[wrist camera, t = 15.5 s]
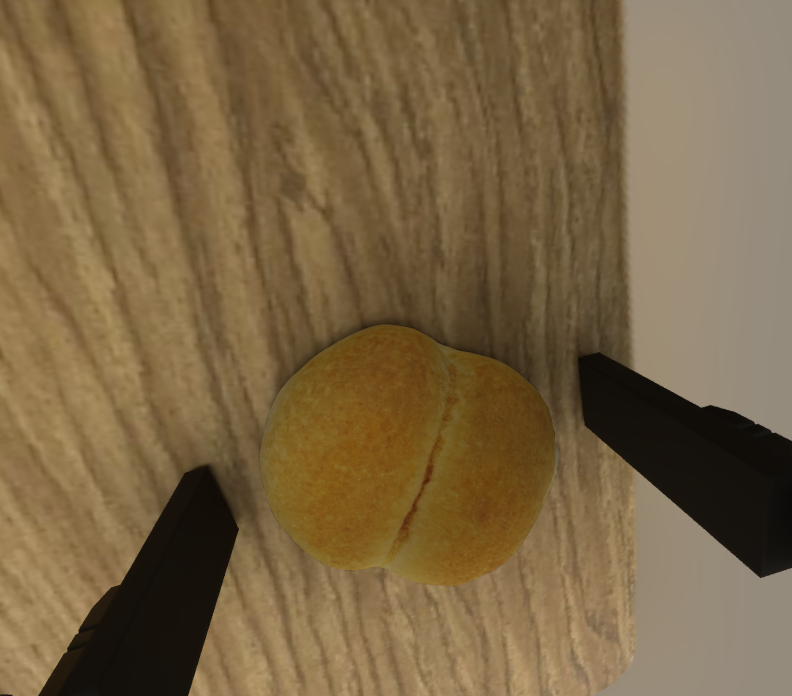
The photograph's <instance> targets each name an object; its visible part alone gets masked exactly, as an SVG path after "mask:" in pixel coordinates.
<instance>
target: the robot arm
mask: <svg viewBox="0 0 792 696" xmlns="http://www.w3.org/2000/svg"><path fill="white" fill-rule="evenodd" d="M578 359H579V369H580V380H581V390H582V401H583V412H584V422H585V426H586V427H587V428H588V429H590V430H591V431H592V432H593V433H594V434H595V435H596V436H598V437H599V438H600V439H601V440H602V441H603V442H605V443H606V444H607V445H608V446H609V447H610V448H611V449H613V450H614V451H615V452H616V453H617V454H618V455H620V456H621V457H622V458H623V459H624V460H625V461H626V462H628V463H629V464H630V465H631V466H632V467H633V468H634V469H636V470H637V471H638V472H639V473H640V474H641V475H643V476H644V477H645V478H646V479H647V480H648V481H649V482H651V483H652V484H653V485H654V486H655V487H656V488H658V489H659V490H660V491H661V492H662V493H663V494H664V495H666V496H667V497H668V498H669V499H671V501H672V502H674V503H675V504H676V505H677V506H678V507H679V508H681V509H682V510H683V511H684V512H685V513H687V514H688V515H689V516H690V517H691V518H692V519H693V520H694V521H695V522H697V523H698V524H699V525H700V526H701V527H702V528H704V529H705V530H706V531H707V532H708V533H709V534H710V535H712V536H713V537H714V538H715V539H716V540H717V541H718V542H720V543H721V544H722V545H723V546H724V547H725V548H727V549H728V550H729V551H730V552H731V553H732V554H734V555H735V556H736V557H737V558H738V559H739V560H740V561H742V562H743V563H744V564H745V565H746V566H747V567H749V568H750V569H751V570H752V571H753V572H754V573H755V574H757V575H758V576H759V577H760V578H762V577H765V576H768V575H771V574H774V573H777V572H781V571H783V570H787V569H790V568H792V441H791V440H789V439H787V438H784V437H783V436H781V435H779V434H777V433H772V432H771V430H769V429H767V428H765V427H763V426H761V425H759V424H755V423H754V422H753V421H751V420H749V419H747V418H746V417H744V416H741V415H740V414H738V413H736V412H733V411H730V410H726V409H722V408H719V407H715V406H712V405H709V406H706V407H703V408H701V407H699V406H697V405H695V404H693V403H692V402H689V401H688V400H686V399H684V398H682V397H681V396H679V395H677V394H675V393H673V392H671V391H670V390H668V389H666V388H664V387H662V386H660V385H658V384H657V383H655V382H653V381H651V380H649V379H647V378H646V377H644V376H642V375H640V374H638V373H636V372H635V371H633V370H631V369H629V368H627V367H625V366H624V365H622V364H620V363H618V362H616V361H614V360H612V359H611V358H609V357H607V356H605V355H603V354H601V353H600V352H598V353H595V354H592V355H588V356H585V357H581V358H578ZM238 530H239V529H238V527H237V524H236V522H235V520H234V518H233V516H232V514H231V512H230V510H229V508H228V506H227V504H226V502H225V500H224V498H223V496H222V494H221V492H220V490H219V488H218V486H217V484H216V482H215V480H214V478H213V476H212V474H211V472H210V470H209V468H208V466H207V467H203V468H200V469H197V470H193V471H190V472H186V473H185V474H184V475H183V477H182V479H181V481H180V482H179V484H178V486H177V487H176V489H175V491H174V493H173V494H172V496H171V498H170V500H169V501H168V503H167V505H166V507H165V508H164V510H163V512H162V514H161V515H160V517H159V519H158V521H157V522H156V524H155V526H154V527H153V529H152V531H151V533H150V534H149V536H148V538H147V540H146V541H145V543H144V545H143V547H142V548H141V550H140V552H139V554H138V555H137V557H136V559H135V561H134V562H133V564H132V566H131V568H130V569H129V571H128V573H127V574H126V576H125V578H124V580H123V581H122V583H121V585H118V586H115V587H112V588H110V589H109V590H108V591H107V593H106V594H105V595H104V596H103V597H102V598H101V599H100V600H99V601H98V602H97V603H96V604H95V606H94V607H93V608H92V609H91V611H90V612H89V614H88V615H87V617H86V619H85V620H84V622H83V624H82V625H81V627H80V629H79V630H78V631H79V633H78V634H76V635H75V637H74V638H73V640H72V642H71V643H70V645H69V646H68V648H67V649H68V651H67V653H64V655H63V656H62V658H61V660H60V661H59V663H58V664H57V666H56V668H55V669H54V671H53V673H52V674H51V676H50V677H49V679H48V681H47V682H46V684H45V686H44V687H43V689H42V691H41V692H40V694H39V695H38V696H188V694H189V691H190V688H191V685H192V681H193V678H194V675H195V671H196V668H197V665H198V662H199V658H200V655H201V652H202V648H203V645H204V642H205V639H206V635H207V632H208V629H209V625H210V622H211V619H212V616H213V612H214V609H215V606H216V602H217V599H218V596H219V593H220V589H221V586H222V583H223V579H224V576H225V573H226V570H227V566H228V563H229V560H230V556H231V553H232V550H233V547H234V543H235V540H236V537H237V533H238ZM0 696H12V695H0Z"/></svg>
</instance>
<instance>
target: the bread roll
mask: <svg viewBox="0 0 792 696" xmlns="http://www.w3.org/2000/svg"><path fill="white" fill-rule="evenodd" d="M558 461H559V449H558V447H557V445H556V443H555V432H554V428H553V424H552V419H551V415H550V412H549V409H548V406H547V405H546V403H545V402H544V400H543V399H542V397H541V395H540V394H539V392H538V391H537V390H536V389H535V388H534V387H533V386H532V385H531V384H530V383H529V382H528V381H527V380H526V379H524V378H523V377H522V376H521V375H520V374H519V373H518V372H516V371H515V370H513V369H512V368H511V367H509V366H508V365H506V364H504V363H501V362H499V361H497V360H495V359H493V358H489V357H486V356H482V355H478V354H474V353H470V352H464V351H458V350H455V349H452V348H450V347H447V346H444V345H441V344H439V343H437V342H436V341H435V340H433V339H432V338H430V337H429V336H427V335H425V334H423V333H421V332H419V331H417V330H415V329H413V328H408V327H404V326H397V325H390V324H385V325H375V326H372V327H369V328H366V329H363V330H360V331H358V332H356V333H353V334H351V335H349V336H347V337H345V338H343V339H342V340H340V341H338V342H336V343H334V344H333V345H331V346H330V347H328V348H326V349H325V350H323V351H322V352H320V353H319V354H317V355H316V356H315V357H313V358H312V359H311V360H310V361H308V362H307V363H306V364H305V365H304V366H303V367H302V368H301V369H300V370H299V371H298V372H297V373H295V374H294V375H293V376H292V377H291V378H290V379H289V380H288V381H287V383H286V384H285V385H284V386H283V387H282V389H281V390H280V392H279V393H278V395H277V396H276V398H275V400H274V402H273V404H272V407H271V410H270V412H269V415H268V417H267V421H266V425H265V429H264V433H263V439H262V445H261V451H260V469H261V476H262V481H263V485H264V489H265V491H266V496H267V499H268V502H269V505H270V508H271V510H272V512H273V514H274V516H275V517H276V519H277V521H278V522H279V524H280V525H281V527H282V528H283V529H284V530H285V532H286V533H287V534H288V535H289V536H290V537H291V538H292V539H293V540H294V541H295V542H296V543H297V544H298V545H299V546H300V547H301V548H302V549H303V550H305V551H306V552H307V553H308V554H309V555H310V556H312V557H313V558H315V559H316V560H318V561H319V562H321V563H322V564H325V565H327V566H330V567H332V568H333V567H334V568H337V569H344V570H361V569H366V568H371V567H381V568H386V569H388V570H390V571H392V572H394V573H396V574H397V575H399V576H401V577H403V578H406V579H408V580H411V581H415V582H418V583H421V584H429V585H444V586H456V585H460V584H464V583H467V582H470V581H472V580H474V579H476V578H478V577H480V576H482V575H484V574H487V573H489V572H491V571H493V570H494V569H496V568H498V567H499V566H501V565H502V564H504V563H505V562H506V561H507V560H508V559H509V558H510V557H511V556H512V554H513V553H514V552H515V551H516V550H517V548H518V547H519V546H520V545H521V543H522V542H523V541H524V539H525V538H526V536H527V535H528V533H529V532H530V530H531V528H532V527H533V524H534V522H535V520H536V518H537V516H538V514H539V512H540V510H541V508H542V505H543V503H544V500H545V498H546V496H547V494H548V492H549V490H550V489H551V488H552V486H553V483H554V480H555V477H556V472H557V470H558Z"/></svg>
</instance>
